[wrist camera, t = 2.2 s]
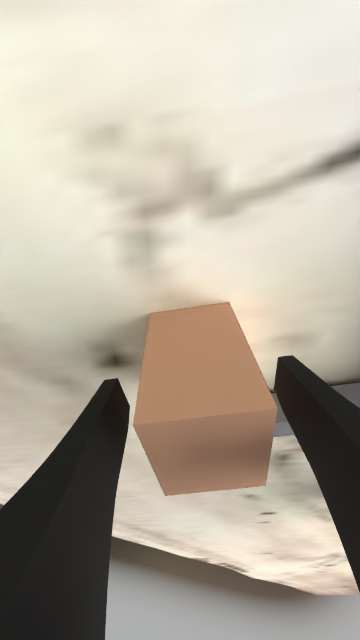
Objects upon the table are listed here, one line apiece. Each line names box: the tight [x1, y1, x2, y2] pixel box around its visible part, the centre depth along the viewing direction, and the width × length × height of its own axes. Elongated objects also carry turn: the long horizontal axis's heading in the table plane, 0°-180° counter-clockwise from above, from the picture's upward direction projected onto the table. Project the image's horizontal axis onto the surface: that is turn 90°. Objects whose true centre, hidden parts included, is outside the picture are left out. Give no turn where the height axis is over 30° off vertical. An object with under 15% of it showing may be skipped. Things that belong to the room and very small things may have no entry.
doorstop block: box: [133, 302, 278, 496], centre depth 10 cm, size 5×4×6 cm
